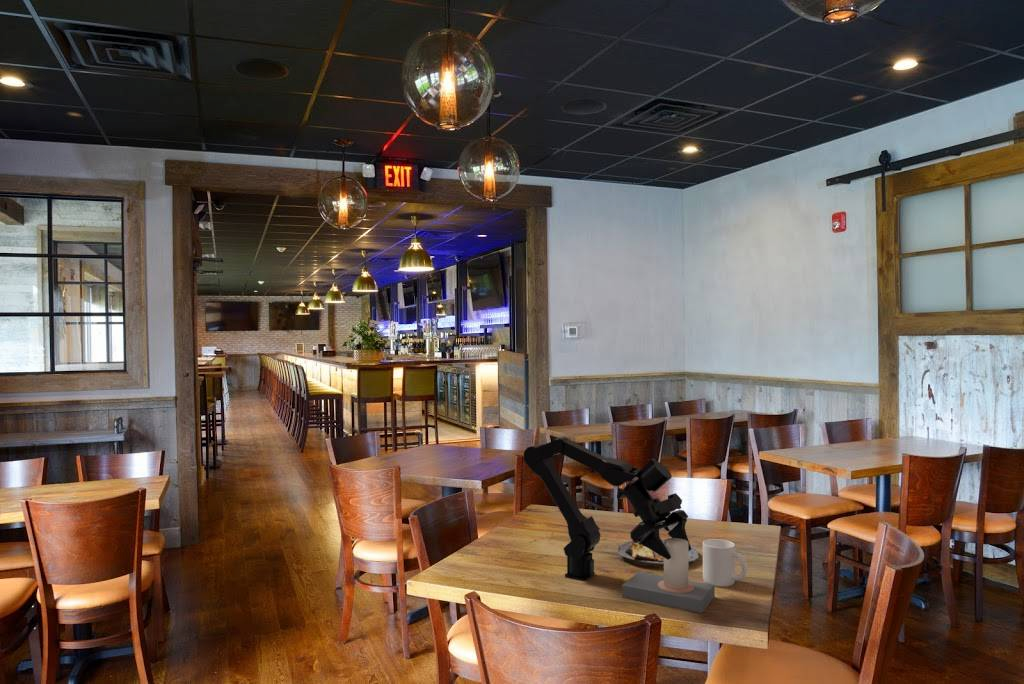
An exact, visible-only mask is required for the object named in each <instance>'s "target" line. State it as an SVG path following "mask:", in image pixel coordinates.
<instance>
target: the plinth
mask: <svg viewBox="0 0 1024 684" xmlns="http://www.w3.org/2000/svg"><path fill="white" fill-rule="evenodd" d="M715 587H716V586H715V585H712V584H707V583H706V582H700V581H694V580H689V579H688V588H687V589H684V590H674V589H669V588H667V587H665V586H664V575H662V574H655V573H652V572H651V573H649V572H644V571H638V572H636V573H635V574H634V575H632V576H631V577H630V578H629V579H628V580H626V581H625V582H624V583H623V584H622V585H621V598H624V599H630V600H634V601H640V602H644V603H650V604H654V605H659V606H663V607H669V608H674V609H678V610H684V611H689V612H694V613H698V614H702V613H703V612H704V611H705V610H706V608H707V607H708V606H709V605H710V604H711V602H712V600H713V599H714V598H715V596H716V595H715V593H716V591H715Z"/></svg>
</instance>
